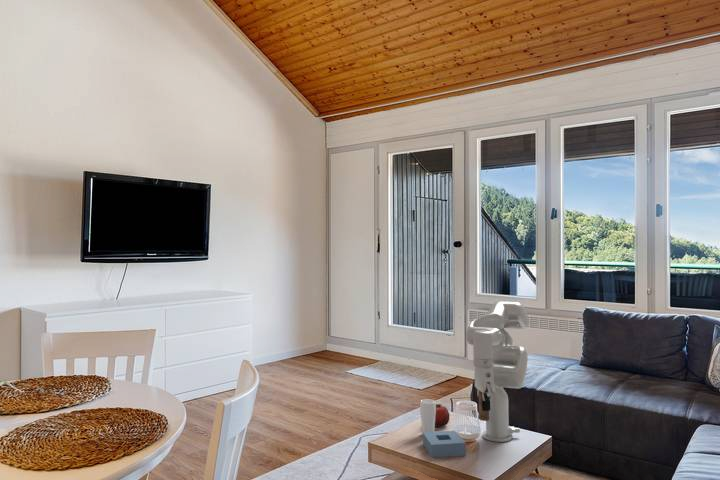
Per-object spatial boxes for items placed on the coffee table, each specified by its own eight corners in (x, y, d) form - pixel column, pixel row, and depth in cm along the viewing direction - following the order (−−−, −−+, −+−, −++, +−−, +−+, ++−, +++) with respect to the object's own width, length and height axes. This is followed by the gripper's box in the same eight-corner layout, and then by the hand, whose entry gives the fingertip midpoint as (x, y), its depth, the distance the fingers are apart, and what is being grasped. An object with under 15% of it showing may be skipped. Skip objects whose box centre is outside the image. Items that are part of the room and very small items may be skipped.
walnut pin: (487, 417, 209) (486, 387, 209) (490, 420, 205) (490, 389, 205) (477, 417, 209) (476, 387, 209) (481, 421, 205) (480, 390, 205)
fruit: (439, 431, 236) (439, 409, 236) (423, 425, 244) (423, 404, 244) (455, 426, 243) (454, 404, 243) (438, 420, 251) (438, 399, 251)
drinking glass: (432, 431, 236) (431, 398, 236) (438, 436, 229) (438, 402, 229) (418, 433, 234) (417, 399, 234) (424, 438, 227) (424, 404, 227)
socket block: (455, 442, 223) (454, 430, 223) (465, 455, 209) (465, 442, 209) (422, 444, 221) (422, 432, 221) (431, 457, 207) (431, 444, 207)
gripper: (500, 366, 200) (501, 414, 199) (484, 357, 216) (485, 402, 216) (481, 367, 199) (482, 415, 198) (467, 358, 215) (467, 402, 215)
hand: (483, 408), depth 207 cm, fingers closed on walnut pin, 4 cm apart
